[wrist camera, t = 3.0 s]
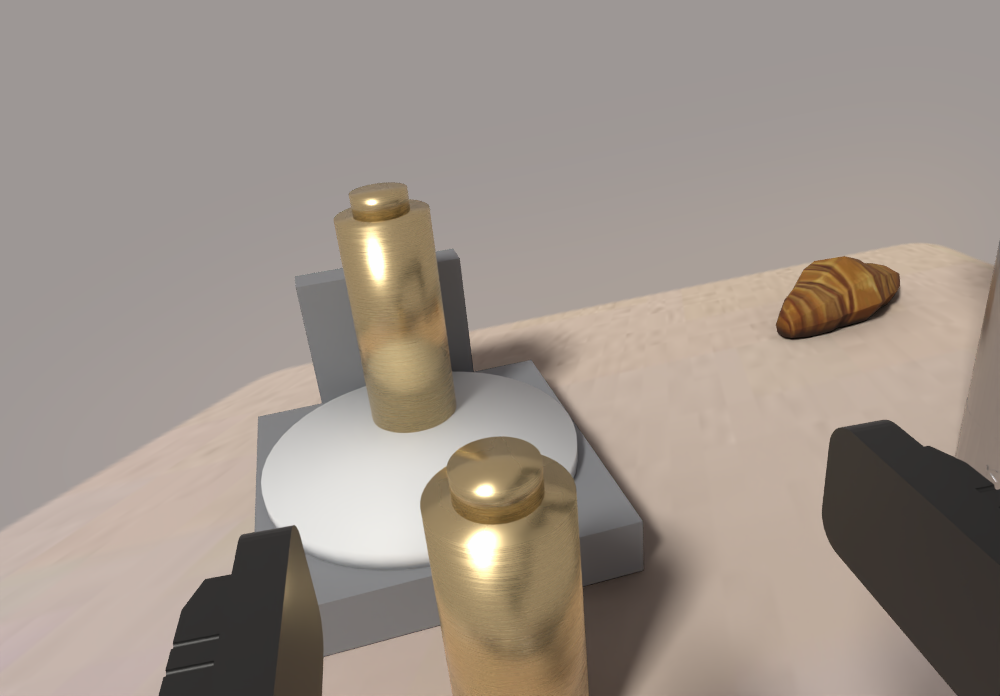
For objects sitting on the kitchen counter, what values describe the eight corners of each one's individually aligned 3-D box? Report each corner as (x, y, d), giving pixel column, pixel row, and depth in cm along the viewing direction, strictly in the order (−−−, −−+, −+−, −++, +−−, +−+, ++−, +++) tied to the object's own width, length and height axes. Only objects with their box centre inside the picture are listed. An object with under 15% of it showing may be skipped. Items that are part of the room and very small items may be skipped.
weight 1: (424, 380, 49) (392, 173, 43) (473, 407, 45) (445, 185, 40) (356, 411, 46) (311, 195, 40) (402, 443, 43) (361, 210, 37)
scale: (523, 381, 56) (510, 235, 51) (643, 570, 38) (640, 372, 33) (269, 435, 53) (228, 284, 48) (267, 671, 34) (202, 467, 30)
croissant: (853, 281, 67) (859, 225, 65) (929, 303, 62) (939, 243, 59) (744, 328, 61) (747, 268, 58) (818, 358, 55) (825, 293, 53)
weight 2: (531, 669, 33) (503, 404, 27) (619, 745, 30) (608, 460, 24) (437, 742, 31) (384, 466, 25) (521, 836, 27) (482, 538, 21)
